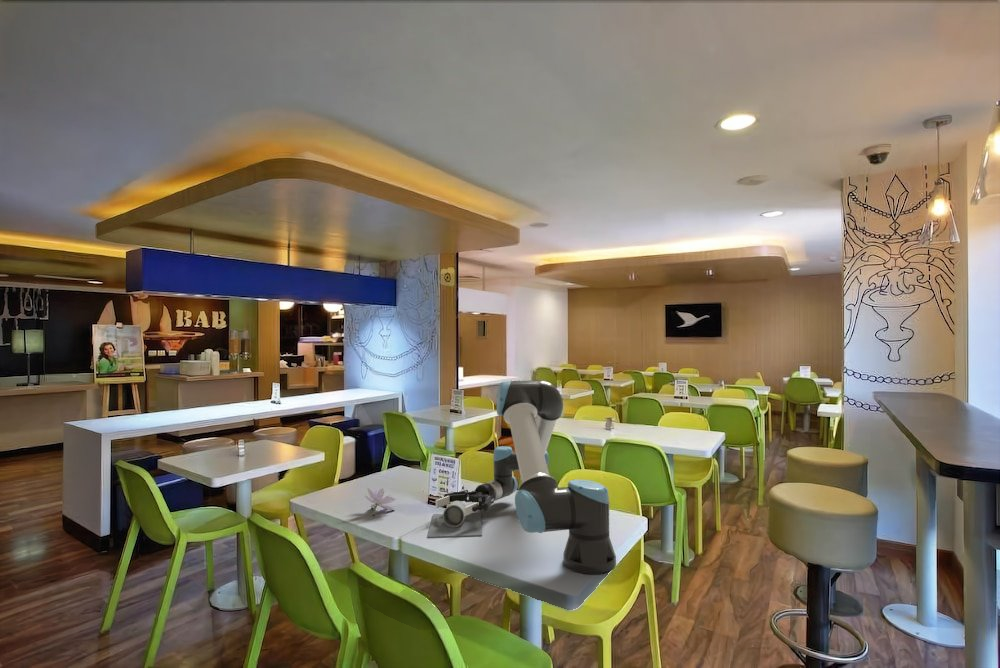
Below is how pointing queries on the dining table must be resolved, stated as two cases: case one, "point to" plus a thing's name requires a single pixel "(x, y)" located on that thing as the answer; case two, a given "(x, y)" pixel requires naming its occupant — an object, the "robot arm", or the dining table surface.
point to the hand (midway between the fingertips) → (450, 507)
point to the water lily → (379, 499)
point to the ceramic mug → (453, 514)
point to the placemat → (466, 529)
